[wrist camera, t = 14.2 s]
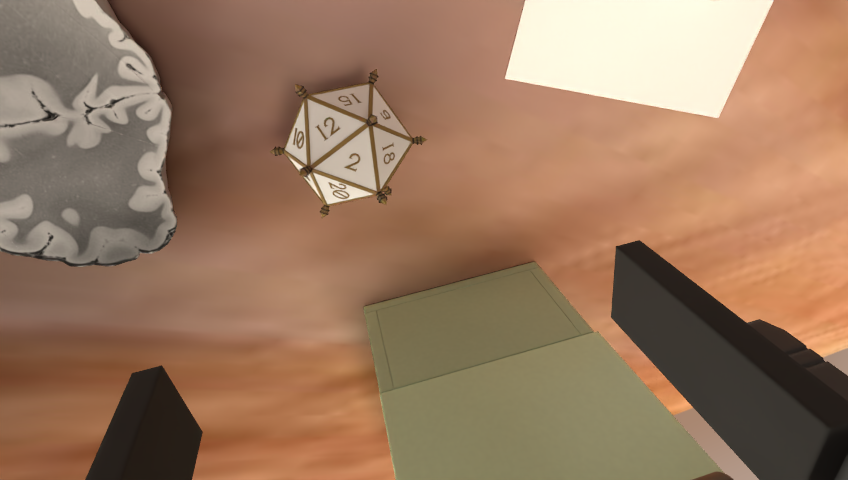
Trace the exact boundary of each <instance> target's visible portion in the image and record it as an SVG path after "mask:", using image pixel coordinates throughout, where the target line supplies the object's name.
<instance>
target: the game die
mask: <svg viewBox="0 0 848 480" xmlns="http://www.w3.org/2000/svg"><path fill="white" fill-rule="evenodd" d="M377 77H378V75H377V69H376V70H374V71H373V72H372V73H370V77H369V82H367V83H362V84H357V85H352V86H347V87H342V88H337V89H332V90H327V91H322V92H317V93H312V94H307V92H306V91H307V90H305V89H304V86H299V85H297V84H295V88H296V93H298V94H299V96H301V97H303V100H302V103H301V106H300V108H299V111H298V113H297V116H296V118H295V121H294V124H293V126H292V129H291V131H290V134H289V137H288V139H287V142H286V144H285V147H284V148H280V147H279V148H276V147H275V148H274V149H273V150H272V151H270V153H272V154H275V156H277V155H281V154H283V153H284V154H285V155H286V156H287V158H288V159H289V160H290V161H291V163H292V164H293V165H294V167H295V168H296V169H297V170H298V172H299V173H300V175H301V176H302V177H303V178H304V179H305V181H306V182H307V183H308V184H309V186H310V187H311V188H312V190H313V191H314V192H315V193H316V195H317V196H318V197H319V199H320V200H321V201H322V202H323V204H324V206H323V207H322V208H321V209H322V210H321V211H320V212H321V217H322V218H323V217H324V216H326V215H328V211H329V206H333V205H337V204H342V203H346V202H351V201H355V200H360V199H364V198H369V197H373V196H377V200H379V203H383V204H385V205H386V201H387V197H385V194H386V195H391V189H390V188H389V186H388V187H387V184H388V183H389V181H390V180H391V178H392V176H393V175H394V173H395V172H396V170H397V168H398V167H399V165H400V164H401V162H402V160H403V159H404V157H405V155H406V154H407V152H408V151H409V149H410V147H411V146H412V144H414V143H415V144H417V145H418V144H421V145H422V143H423V142H425V141H426V140H427V139H425V138H423V137H421V136H420V137H416V138H412V137H411V136H410V134H409V133H408V131H407V130H406V129H405V127H404V126H403V124H402V123H401V122H400V120H399V119H398V117H397V116H396V115H395V113H394V112H393V111H392V109H391V108H390V106H389V105H388V104H387V102H386V101H385V99H384V98H383V97H382V95H381V94H380V93H379V91H378V90H377V88H376V87H375V86H374V83H375V81H377V80H376V79H377ZM382 192H385V194H383V193H382Z"/></svg>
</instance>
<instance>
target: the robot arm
mask: <svg viewBox="0 0 848 480" xmlns="http://www.w3.org/2000/svg"><path fill="white" fill-rule="evenodd" d="M611 318H612V319H613V320H614V321H615V322H616V323H617V324H618V325H619V326H620V328H621V329H622V330H623V331H624V332H625V333H626V334H627V335H628V336H629V337H630V339H631V340H632V341H633V342H634V343H635V344H636V345H637V346H638V347H639V348H640V349H641V351H642V352H643V353H644V354H645V355H646V356H647V357H648V358H649V359H650V360H651V362H652V363H653V364H654V365H655V366H656V367H657V368H658V369H659V370H660V371H661V372H662V374H663V375H664V376H665V377H666V378H667V379H668V380H669V381H670V382H671V383H672V385H673V386H674V387H675V388H676V389H677V390H678V391H679V392H680V393H681V394H682V395H683V397H684V398H685V399H686V400H687V401H688V402H689V403H690V404H691V405H692V406H693V407H694V409H695V410H696V411H697V412H698V413H699V414H700V415H701V416H702V417H703V418H704V420H705V421H706V422H707V423H708V424H709V425H710V426H711V427H712V428H713V429H714V430H715V432H716V433H717V434H718V435H719V436H720V437H721V438H722V439H723V440H724V441H725V442H726V444H727V445H728V446H729V447H730V448H731V449H732V450H733V451H734V452H735V453H736V455H737V456H738V457H739V458H740V459H741V460H742V461H743V462H744V463H745V464H746V465H747V467H748V468H749V469H750V470H751V471H752V472H753V473H754V474H755V475H756V476H757V478H758V479H759V480H848V376H847V375H846V374H844V373H843V372H842V371H840V370H839V369H837V368H836V367H835V366H833V365H832V364H830V363H829V362H825V361H824V360H823V358H822V357H821V356H820V355H818V354H817V353H815V352H814V351H813V350H811V349H807V348H806V345H804V344H803V343H802V342H800V341H799V340H798V339H796V338H795V337H793V336H792V335H791V334H789V333H788V332H787V331H785V330H783V329H781V328H778V327H776V326H774V325H771V324H769V323H767V322H765V321H762V320H760V319H759V320H755V321H752V322H749V323H746V322H745V321H743V320H742V319H741V318H740V317H738V316H737V315H736V314H734V313H733V312H732V311H731V310H729V309H728V308H727V307H725V306H724V305H723V304H721V303H720V302H719V301H718V300H716V299H715V298H714V297H712V296H711V295H710V294H708V293H707V292H706V291H705V290H703V289H702V288H701V287H699V286H698V285H697V284H696V283H694V282H693V281H692V280H690V279H689V278H688V277H686V276H685V275H684V274H683V273H681V272H680V271H679V270H677V269H676V268H675V267H674V266H672V265H671V264H670V263H668V262H667V261H666V260H664V259H663V258H662V257H661V256H659V255H658V254H657V253H655V252H654V251H653V250H652V249H650V248H649V247H648V246H646V245H645V244H644V243H642V242H641V241H640V240H639V241H635V242H631V243H627V244H623V245H620V246H616V255H615V269H614V283H613V298H612V312H611ZM201 437H202V430H201V429H200V427H199V425H198V424H197V422H196V421H195V419H194V417H193V416H192V414H191V412H190V411H189V409H188V407H187V406H186V404H185V402H184V401H183V399H182V398H181V396H180V394H179V393H178V391H177V389H176V388H175V386H174V384H173V383H172V381H171V380H170V378H169V376H168V375H167V373H166V371H165V370H164V368H163V366H158V367H154V368H151V369H147V370H143V371H139V372H135V373H132V375H131V377H130V379H129V381H128V384H127V386H126V388H125V390H124V393H123V395H122V397H121V400H120V402H119V404H118V406H117V409H116V411H115V413H114V416H113V418H112V420H111V422H110V425H109V427H108V429H107V432H106V434H105V436H104V438H103V441H102V443H101V445H100V447H99V450H98V452H97V454H96V457H95V459H94V461H93V463H92V466H91V468H90V470H89V473H88V475H87V477H86V479H85V480H192V477H193V472H194V468H195V463H196V459H197V454H198V450H199V446H200V441H201Z"/></svg>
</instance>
